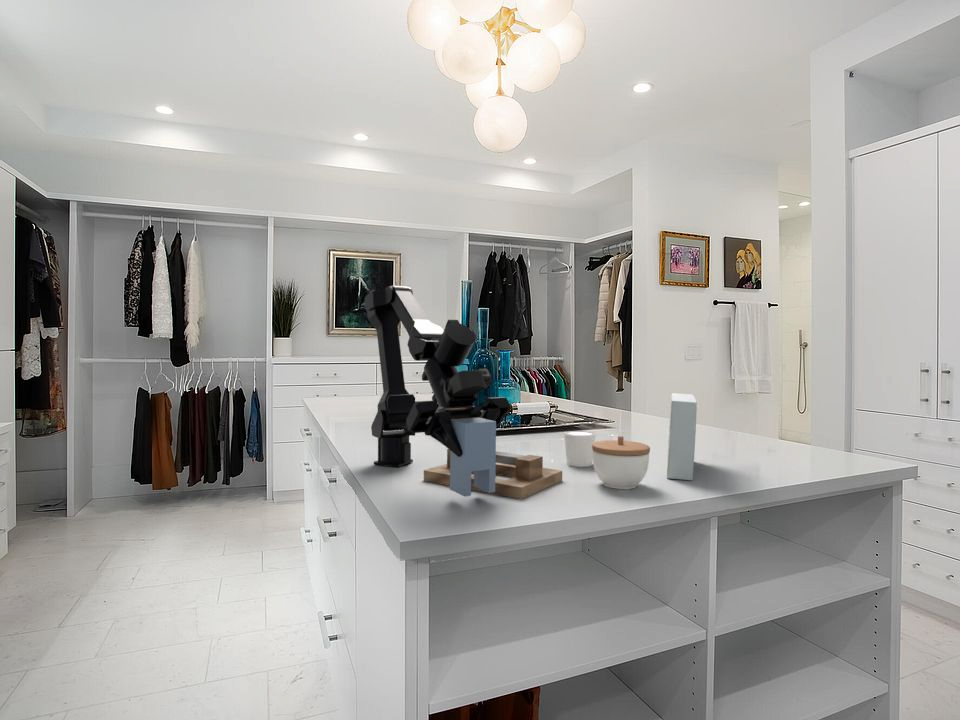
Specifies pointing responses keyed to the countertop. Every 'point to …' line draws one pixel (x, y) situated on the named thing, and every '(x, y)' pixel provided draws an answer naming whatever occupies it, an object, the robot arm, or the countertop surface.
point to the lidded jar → (620, 462)
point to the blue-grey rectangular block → (474, 455)
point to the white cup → (579, 448)
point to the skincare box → (681, 437)
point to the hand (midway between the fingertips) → (477, 453)
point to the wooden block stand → (520, 467)
